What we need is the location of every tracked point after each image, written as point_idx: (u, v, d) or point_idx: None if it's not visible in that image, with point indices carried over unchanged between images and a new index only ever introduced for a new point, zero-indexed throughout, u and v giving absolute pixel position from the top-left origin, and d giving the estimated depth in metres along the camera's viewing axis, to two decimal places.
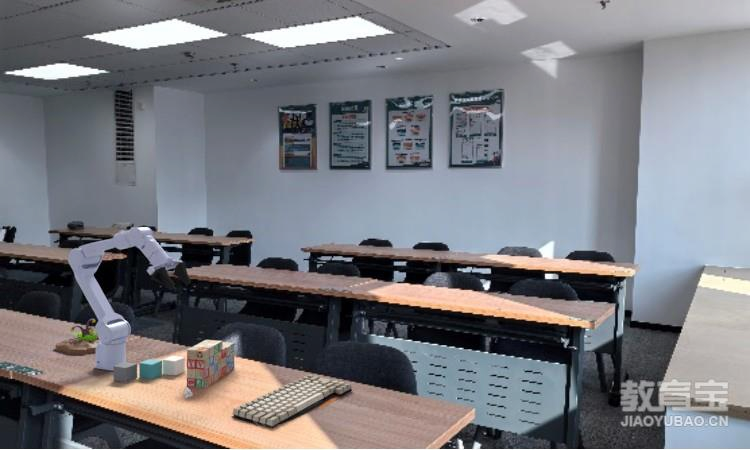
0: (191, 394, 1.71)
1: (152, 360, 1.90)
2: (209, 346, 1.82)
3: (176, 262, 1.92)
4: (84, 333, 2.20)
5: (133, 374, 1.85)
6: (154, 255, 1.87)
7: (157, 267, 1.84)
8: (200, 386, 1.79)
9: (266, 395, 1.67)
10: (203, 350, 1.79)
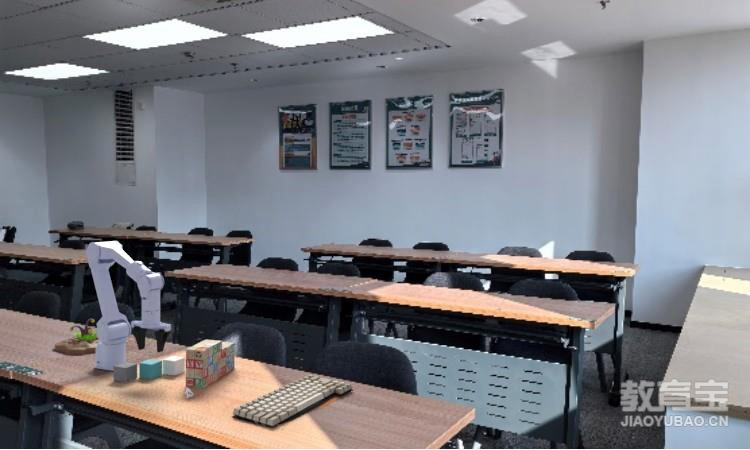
0: (192, 394, 1.71)
1: (152, 360, 1.90)
2: (208, 346, 1.83)
3: None
4: (83, 333, 2.20)
5: (133, 374, 1.84)
6: None
7: None
8: (199, 386, 1.79)
9: (266, 395, 1.67)
10: (202, 350, 1.79)
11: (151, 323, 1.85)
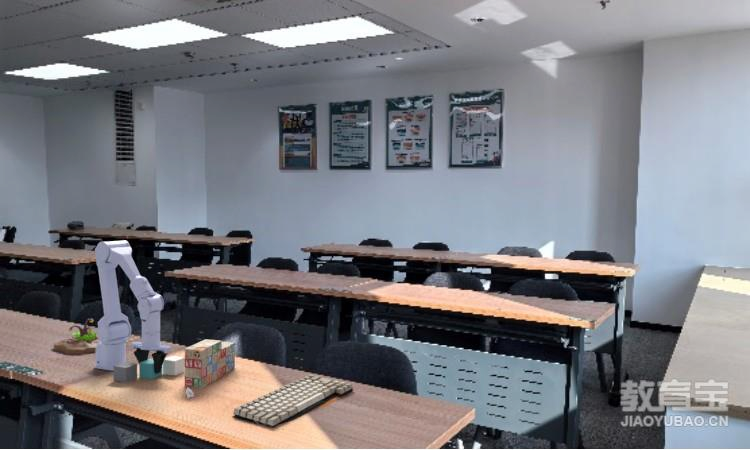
0: (192, 394, 1.71)
1: (152, 360, 1.90)
2: (207, 346, 1.83)
3: None
4: (82, 333, 2.20)
5: (133, 374, 1.85)
6: None
7: None
8: (197, 385, 1.79)
9: (267, 395, 1.67)
10: (200, 349, 1.79)
11: (151, 345, 1.86)
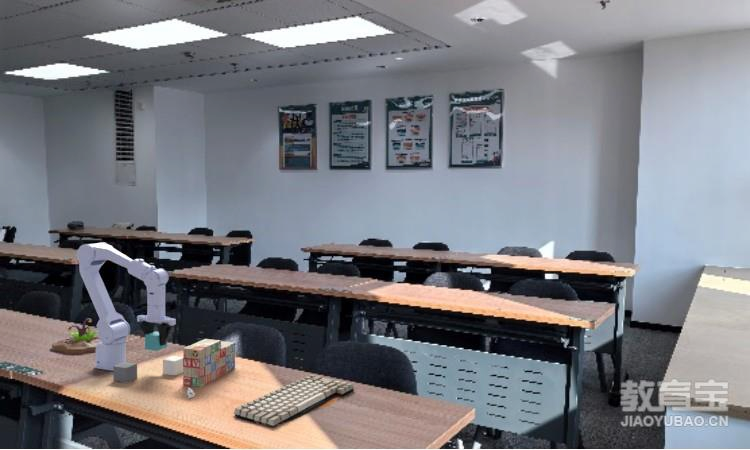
0: (193, 394, 1.71)
1: (157, 332, 1.95)
2: (206, 345, 1.83)
3: None
4: (81, 333, 2.20)
5: (133, 374, 1.85)
6: None
7: None
8: (196, 385, 1.80)
9: (268, 395, 1.67)
10: (199, 349, 1.80)
11: (156, 317, 1.91)
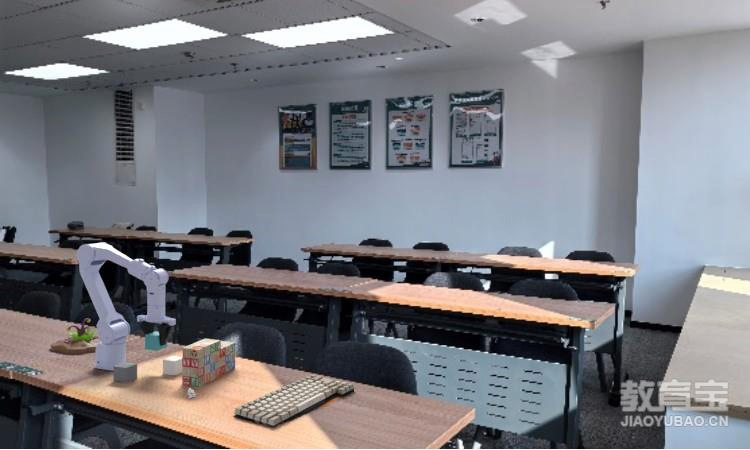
0: (194, 394, 1.71)
1: (157, 332, 1.95)
2: (205, 345, 1.84)
3: None
4: (80, 333, 2.20)
5: (133, 374, 1.85)
6: None
7: None
8: (194, 384, 1.80)
9: (268, 395, 1.68)
10: (197, 349, 1.80)
11: (156, 317, 1.91)
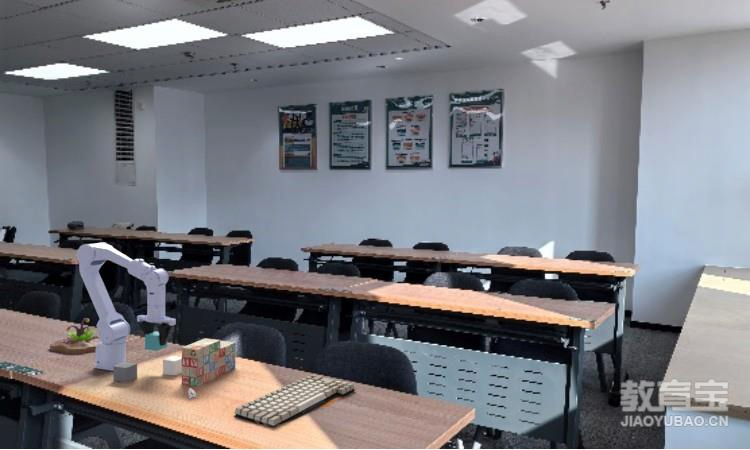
0: (195, 394, 1.71)
1: (157, 332, 1.95)
2: (204, 345, 1.84)
3: None
4: (79, 333, 2.20)
5: (133, 374, 1.85)
6: None
7: None
8: (194, 384, 1.80)
9: (269, 395, 1.68)
10: (197, 349, 1.80)
11: (156, 317, 1.91)
